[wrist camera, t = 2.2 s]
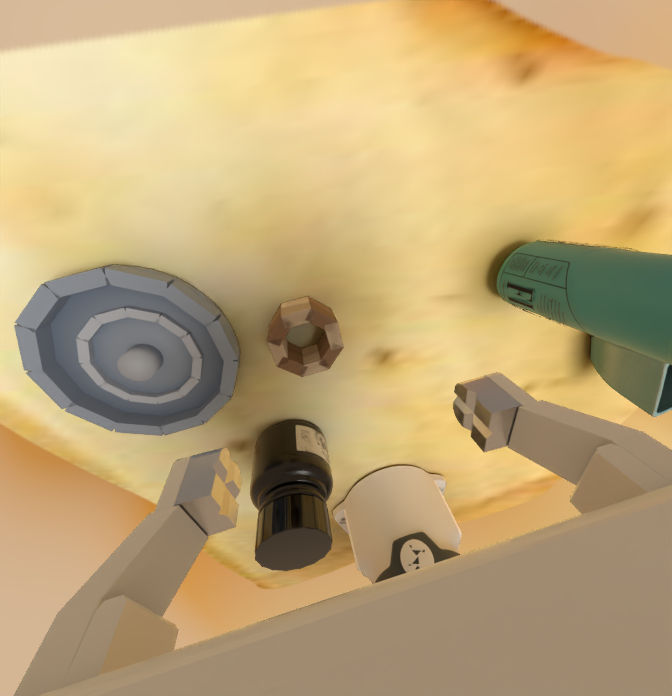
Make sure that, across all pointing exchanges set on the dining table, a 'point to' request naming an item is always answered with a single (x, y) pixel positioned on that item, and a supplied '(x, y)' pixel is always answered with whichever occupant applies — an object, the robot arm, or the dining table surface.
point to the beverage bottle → (595, 292)
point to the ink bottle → (291, 496)
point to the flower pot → (634, 376)
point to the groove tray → (115, 339)
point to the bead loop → (311, 356)
